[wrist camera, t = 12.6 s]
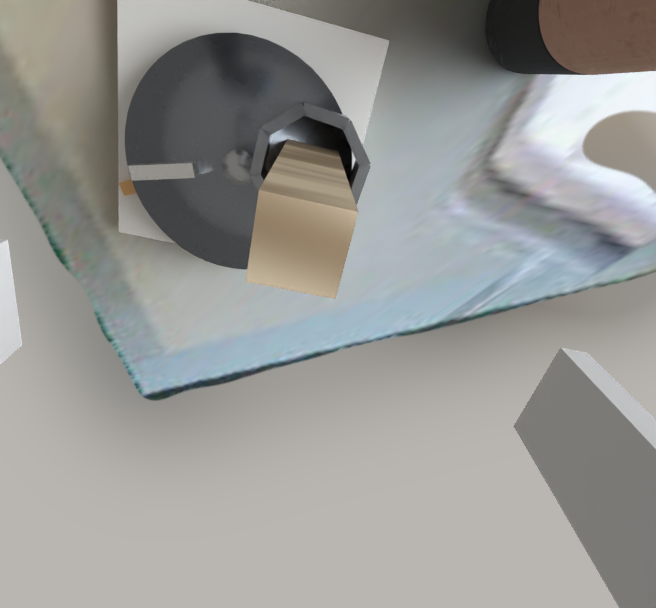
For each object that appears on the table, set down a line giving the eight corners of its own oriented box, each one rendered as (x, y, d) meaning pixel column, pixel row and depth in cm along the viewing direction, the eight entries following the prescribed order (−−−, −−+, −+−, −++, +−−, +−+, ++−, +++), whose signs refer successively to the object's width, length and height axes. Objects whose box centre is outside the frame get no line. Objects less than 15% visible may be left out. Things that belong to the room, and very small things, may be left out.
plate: (129, -30, 27) (113, -40, 25) (385, 43, 30) (390, 39, 28) (128, 224, 36) (116, 233, 33) (328, 266, 38) (329, 277, 36)
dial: (386, 86, 29) (398, 86, 24) (319, 282, 36) (319, 309, 32) (148, -3, 26) (116, -21, 22) (126, 228, 33) (98, 249, 29)
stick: (287, 139, 28) (258, 189, 14) (338, 150, 29) (358, 212, 15) (279, 190, 30) (245, 281, 16) (326, 200, 30) (335, 298, 16)
